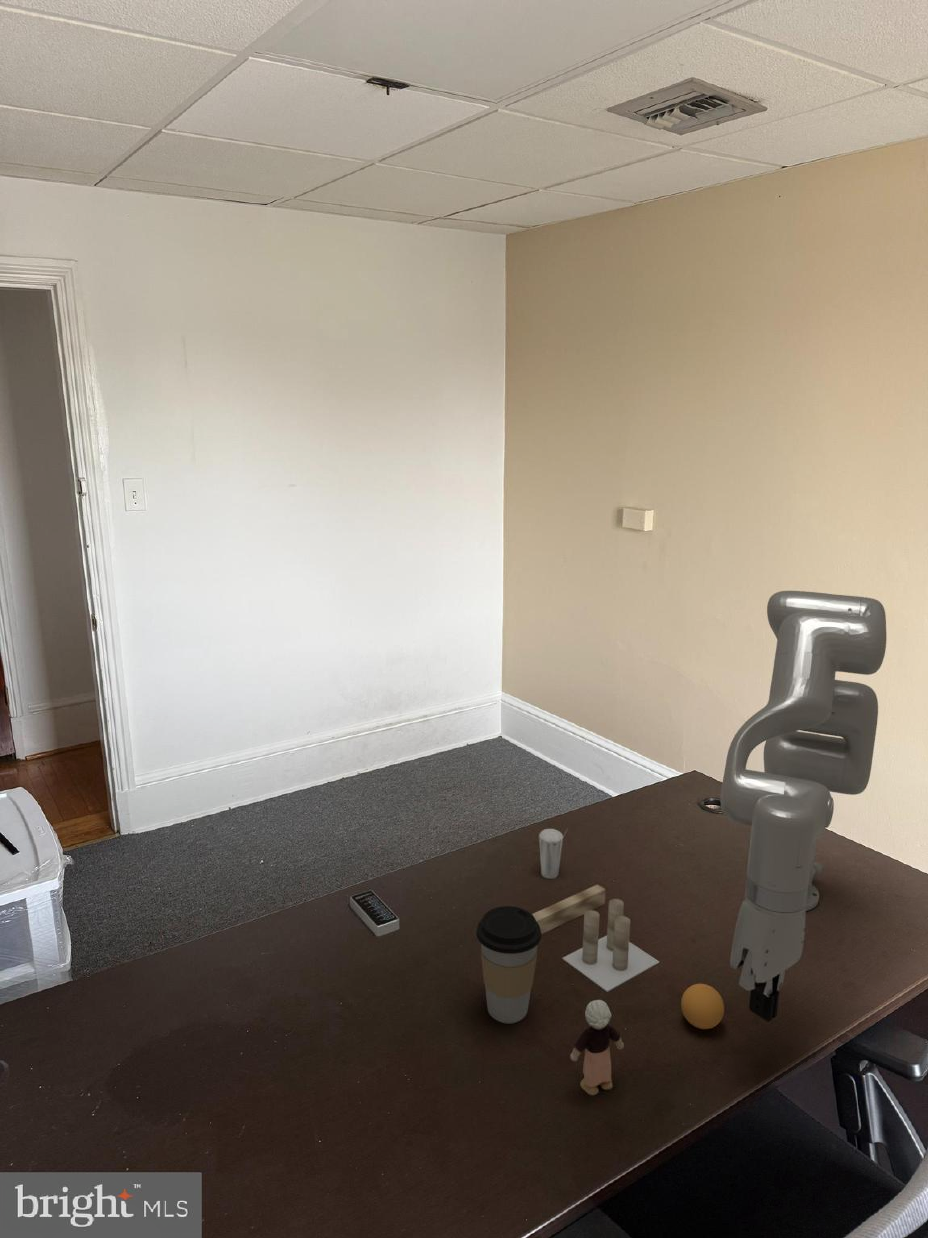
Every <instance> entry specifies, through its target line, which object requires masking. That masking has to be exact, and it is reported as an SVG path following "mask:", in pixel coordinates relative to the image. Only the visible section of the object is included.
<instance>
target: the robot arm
mask: <svg viewBox="0 0 928 1238" xmlns="http://www.w3.org/2000/svg"><path fill="white" fill-rule="evenodd" d="M766 614H767V621H768V624H769V627H770V629H771V631H772V633H773V634H774V636H775V638H776V648H775V654H774V661H773V668H772V675H771V676H772V677H771V682H770V690H769V697H768V701H767V704H766V705H765V706H764V707H763V708H761V709H760V710H758V711H757V712H756V713H754V714H753V715H752V716H751V717H749V718H748V719H747V720H746V721H744V723H743V724H742V725H741V726H740V728H739V729H738V730H737V732H736V733H735V734H734V737H733V738H732V741H731V742H730V745H729V748H728V750H727V755H726V760H725V766H724V772H723V778H722V784H721V790H720V807H721V811H722V813H723V816H725V817H726V819H727V820H729V821H731V822H733V823H735V824H738V825H741V826H748V827H751V829H750V831H751V832H750V841H749V848H748V859H747V868H746V869H747V870H746V877H745V878H746V880H745V890H744V898H745V899H744V900H743V901H742V903H741V905H740V908H739V912H738V915H737V918H736V919H737V920H736V924H735V928H734V933H733V938H732V945H731V953H730V961H729V962H730V967H731V969H734V970H737V969H739V968H741V967H742V970H741V974H740V977H739V982H738V986H739V987H740V988H742V989H744V990H746V991H750V994H749V1004H748V1009H749V1011H750V1012H752V1013H753V1014H755V1016H758V1017H759V1018H761V1019H763V1020H765V1021H766V1022H771V1021H772V1019H775V1018H776V1017H777V1015H778V1008H779V1007H778V1006H779V997H780V990H781V989H782V987H783V984H784V979H785V973H786V972H787V970H788V969H790V968H791V967H792V966H794V965H795V964H796V963H798V962H799V960H801V957H802V953H803V950H804V943H805V931H806V912H807V911H810V910H812V909H814V908H815V907H817V905H818V904H819V900H820V893H819V890H818V889H817V887H816V886H815V885H814V884H813V883H812V882H813V879H814V877H815V875H818V874H819V873H821V872H822V871H823V865H822V864H821V863H820V862H819V861H815V858H816V857H815V856H816V847H817V841H818V838H819V837H820V836H821V835H822V833H823V832H824V831H825V829H827V828H828V827H829V826H830V825H831V823H832V820H833V814H834V809H835V808H834V807H835V806H834V805H835V804H834V797H832V794H831V793H837V794H841V795H842V794H843V795H850V796H852V795H853V796H854V795H855V796H856V795H859V794H862V793H863V792H865V790H866V788H867V787H868V784H869V781H870V777H871V772H872V764H873V758H874V757H873V755H874V750H875V749H874V748H875V742H876V735H877V728H878V717H879V702H878V697H877V693H876V692H875V690H874V689H873V688H872V687H871V686H869V685H867V684H864V683H860V682H856V681H850V680H849V681H848V680H840V679H836V674H837V672H838V673H841V672H842V673H848V674H857V675H865V676H867V675H868V676H869V675H874V674H876V673H877V672H878V671H879V670H880V668H881V667H882V665H883V661H884V659H885V655H886V648H887V617H886V616H887V615H886V609H885V607H884V605H883V604H882V602H880V600H877V599H876V598H871V597H867V596H865V597H864V596H855V595H846V594H844V595H843V594H835V593H827V592H826V593H825V592H817V591H816V592H815V591H803V590H781V591H778V592H775V593H773V594H772V595H771V596H770V598H769V599H768V601H767V607H766ZM763 742H764V747H763V769H764V771H760V770H759V771H758V770H752V769H751V770H750V769H747V768H746V767H747V764H748V760H749V757H750V755H751V753H752V752H753V750H754V749H756V747H757V746H759V745H761V744H762V743H763Z"/></svg>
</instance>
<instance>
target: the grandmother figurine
mask: <svg viewBox="0 0 928 1238" xmlns="http://www.w3.org/2000/svg"><path fill="white" fill-rule="evenodd" d="M584 1015H585V1019H586V1022H587V1024H589V1026H590V1027H588V1028H586V1029H584V1031H583V1032H582V1033H581V1034H580V1036H579V1037H578V1039H577V1040H576V1042H575V1044H574V1046H573V1048H572V1052H570V1055H569V1058H570V1060H571V1061H573V1062H577V1061H578V1059H579V1057H580V1055H581V1053H582V1052H584V1060H583V1067H582V1074H583V1078H582V1079H581V1080H580V1085H579V1086H580V1088H581V1089H582V1090H583V1091H585V1092H586V1094H587V1095H589V1096H595V1095H598V1094H599V1092H600V1091H599V1088H598V1086H600V1088H601V1089H603V1090H606V1091H607V1090H612V1089H613V1080H612V1061H611V1052H610V1051H611V1050H610V1040H611V1041H613V1043H614V1045H615V1047H616V1048H617V1049H618V1050H623V1049H624V1046H625V1045H624V1042H623V1040H622V1037H621V1035H620V1033H619V1032H618V1030H617V1029H615V1027H613V1026H612V1025H610V1024H609V1023H610V1021H611V1019H612V1012H611V1011H610V1008H609V1006H608V1003H606V1002H605V1001H604V1000H602V999H595V1000H592V1001H590V1002H589V1003H588V1004H587V1006H586V1008H585V1013H584Z"/></svg>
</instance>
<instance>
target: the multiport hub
mask: <svg viewBox="0 0 928 1238" xmlns="http://www.w3.org/2000/svg"><path fill="white" fill-rule="evenodd" d="M349 905H350V908H351V909H352V910H353V912H354V913H355V914H356V915H357V916H358V917H359V918H360V920H361V921H362V922H363V923H364V924H365V925H366V926H367V928H369V930H370V931H371V932H372V933H373V934H374V935H375V937H382V936H384V935H387V934H389V933H392V932H395V931H397V930H400V918H399V917H398V916H397V915H396V914H395V913H394V912H393V910H391V909H390V907H389V906H388V905H387V904H386V903H385V902H384V901H383V900H382V899H381V898H380V897H379V896H378V895H377V894H376V893H375V892H374V891H373V890H372V889H369V890H366V891H363V892H359V893H357V894H354V895H351V896H350V897H349Z"/></svg>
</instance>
